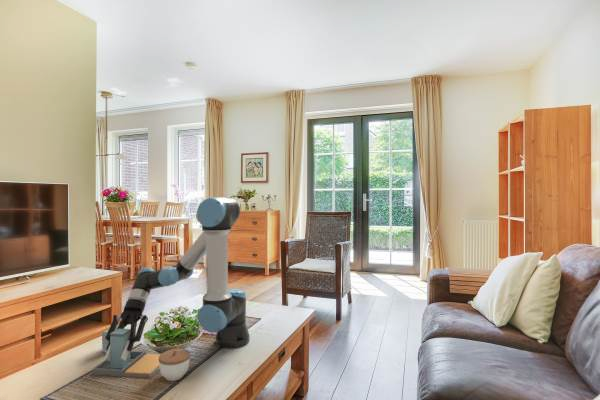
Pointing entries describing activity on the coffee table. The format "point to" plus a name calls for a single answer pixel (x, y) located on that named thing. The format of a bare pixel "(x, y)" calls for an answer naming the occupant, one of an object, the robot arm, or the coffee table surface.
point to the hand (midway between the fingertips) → (115, 359)
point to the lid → (144, 367)
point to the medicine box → (104, 341)
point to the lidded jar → (174, 363)
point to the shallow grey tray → (117, 372)
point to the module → (119, 348)
